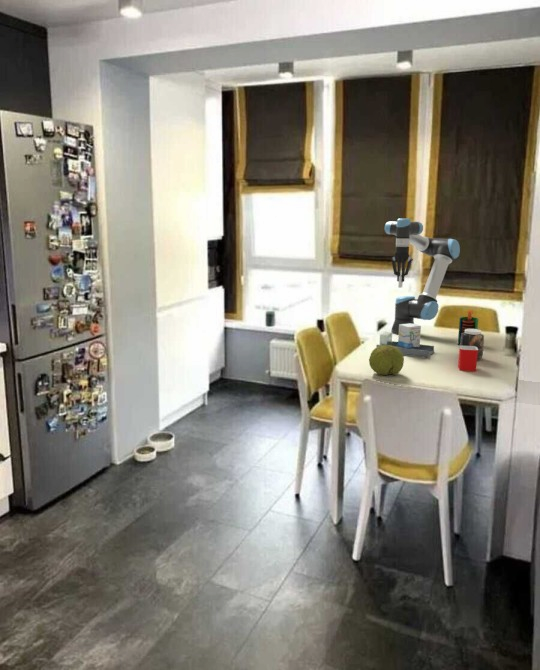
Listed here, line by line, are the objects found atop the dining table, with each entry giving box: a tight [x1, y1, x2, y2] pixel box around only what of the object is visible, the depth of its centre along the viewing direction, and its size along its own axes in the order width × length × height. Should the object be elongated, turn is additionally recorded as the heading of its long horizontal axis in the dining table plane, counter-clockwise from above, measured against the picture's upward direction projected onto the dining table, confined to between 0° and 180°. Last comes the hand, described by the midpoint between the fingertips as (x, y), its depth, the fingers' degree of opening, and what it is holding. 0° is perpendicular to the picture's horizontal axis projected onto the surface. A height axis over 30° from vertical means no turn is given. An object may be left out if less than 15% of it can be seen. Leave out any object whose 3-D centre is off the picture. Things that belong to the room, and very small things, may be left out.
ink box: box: [397, 323, 422, 348], centre depth 311 cm, size 9×8×12 cm
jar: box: [459, 329, 485, 362], centre depth 300 cm, size 12×12×15 cm
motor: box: [457, 309, 479, 346], centre depth 330 cm, size 10×9×20 cm
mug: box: [457, 345, 478, 372], centre depth 282 cm, size 12×8×11 cm
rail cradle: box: [375, 331, 435, 359], centre depth 314 cm, size 14×28×9 cm, turn 60°
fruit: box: [368, 345, 405, 376], centre depth 271 cm, size 16×14×15 cm
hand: (400, 287), depth 332 cm, fingers closed
